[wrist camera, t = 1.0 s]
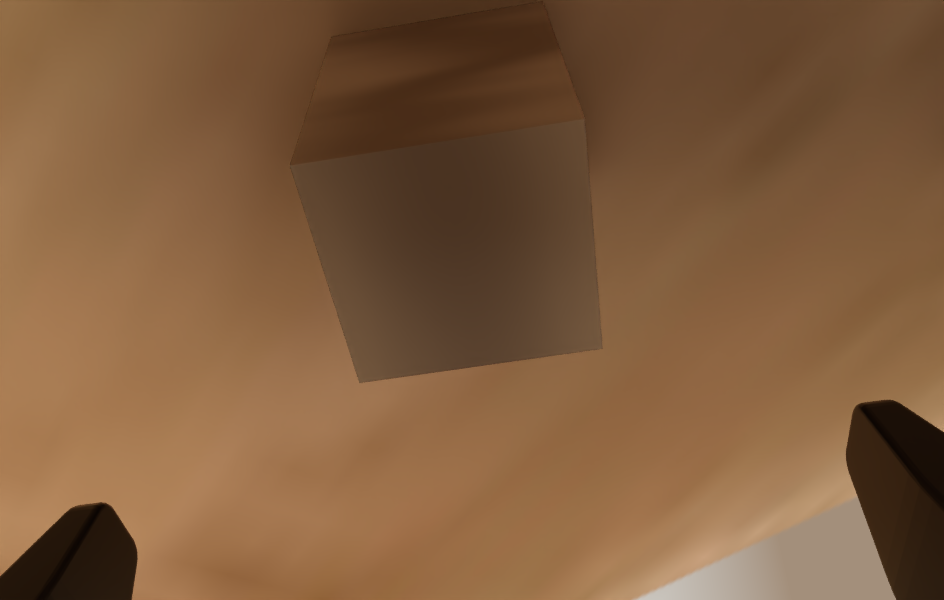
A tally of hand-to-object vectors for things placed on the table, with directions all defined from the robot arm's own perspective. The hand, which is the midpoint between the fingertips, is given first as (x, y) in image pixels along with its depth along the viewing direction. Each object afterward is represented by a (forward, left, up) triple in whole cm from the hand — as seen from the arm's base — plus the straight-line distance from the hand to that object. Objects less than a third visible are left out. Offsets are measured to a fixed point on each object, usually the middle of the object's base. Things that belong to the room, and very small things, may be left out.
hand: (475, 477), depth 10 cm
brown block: (0, 0, -11) cm, 11 cm away
